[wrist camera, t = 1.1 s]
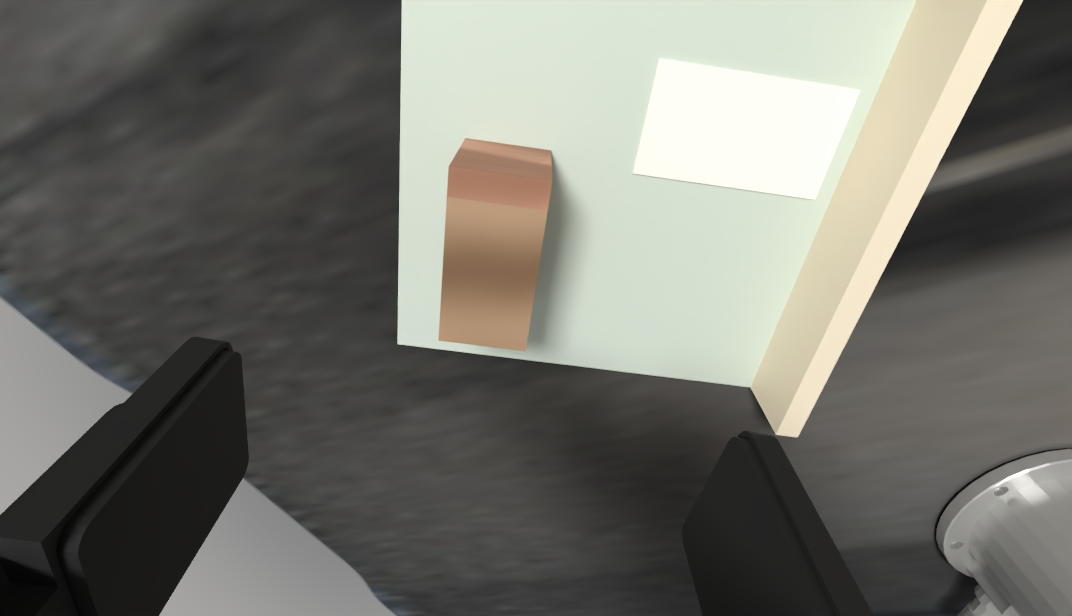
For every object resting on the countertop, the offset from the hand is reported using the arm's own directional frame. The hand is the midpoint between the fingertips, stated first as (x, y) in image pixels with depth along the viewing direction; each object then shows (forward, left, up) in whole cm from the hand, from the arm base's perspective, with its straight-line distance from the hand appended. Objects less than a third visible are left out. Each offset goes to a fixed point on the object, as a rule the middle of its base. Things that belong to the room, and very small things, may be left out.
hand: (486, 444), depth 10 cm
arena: (+2, -5, -18) cm, 19 cm away
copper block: (-2, +1, -18) cm, 18 cm away
